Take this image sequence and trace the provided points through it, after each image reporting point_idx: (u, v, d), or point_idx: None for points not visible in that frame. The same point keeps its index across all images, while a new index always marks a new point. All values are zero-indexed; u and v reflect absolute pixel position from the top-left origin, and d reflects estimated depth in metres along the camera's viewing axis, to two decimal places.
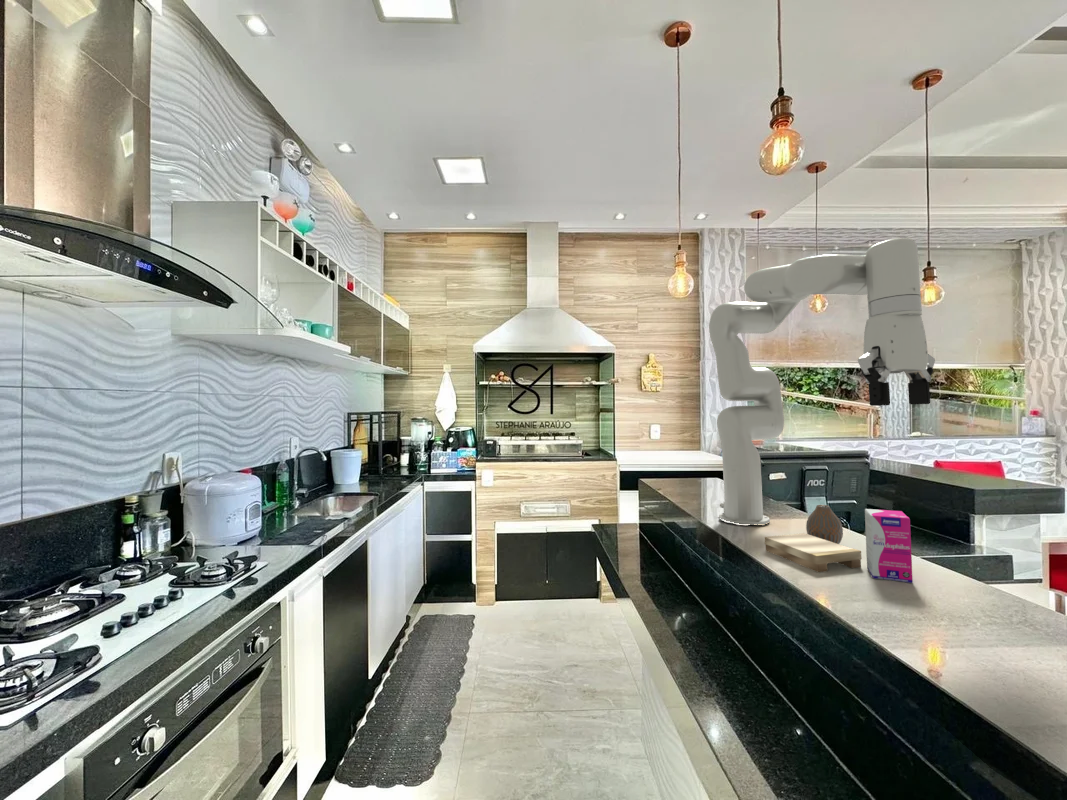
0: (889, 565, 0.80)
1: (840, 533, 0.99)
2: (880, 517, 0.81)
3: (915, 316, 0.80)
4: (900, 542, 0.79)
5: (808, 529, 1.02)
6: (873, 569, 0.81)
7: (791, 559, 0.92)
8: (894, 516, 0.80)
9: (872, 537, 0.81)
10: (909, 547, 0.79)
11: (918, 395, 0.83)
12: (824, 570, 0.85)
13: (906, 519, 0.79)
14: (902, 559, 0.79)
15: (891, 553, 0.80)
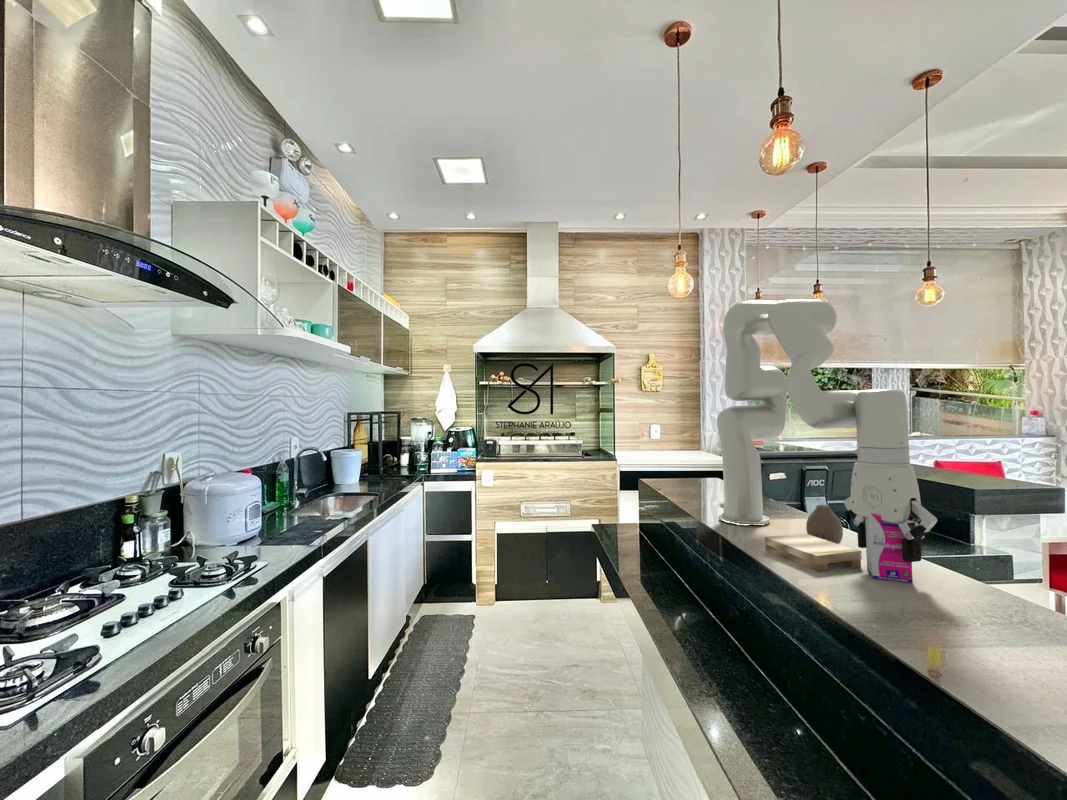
0: (889, 565, 0.80)
1: (840, 533, 0.99)
2: (880, 517, 0.81)
3: None
4: (900, 542, 0.79)
5: (808, 529, 1.02)
6: (873, 569, 0.81)
7: (791, 559, 0.92)
8: None
9: (872, 537, 0.81)
10: None
11: None
12: (824, 570, 0.85)
13: None
14: (902, 559, 0.79)
15: (891, 553, 0.80)
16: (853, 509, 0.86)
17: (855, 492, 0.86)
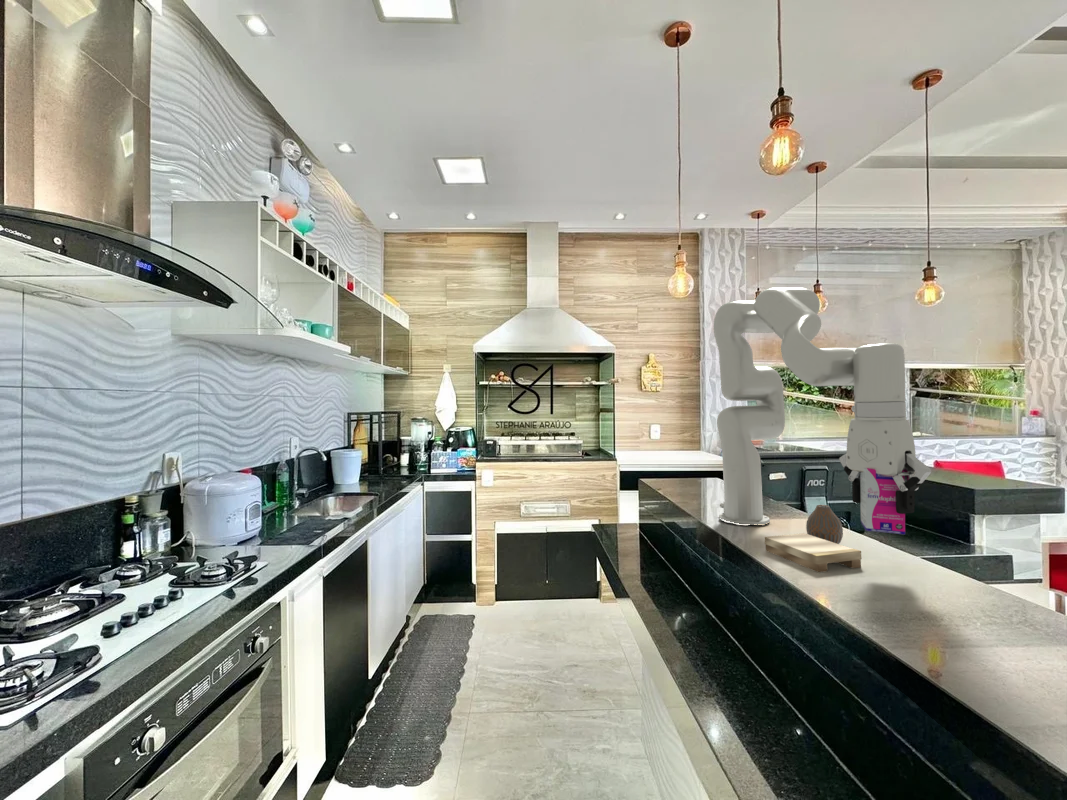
0: (882, 517, 0.81)
1: (840, 533, 0.99)
2: (875, 470, 0.81)
3: None
4: (894, 495, 0.80)
5: (808, 529, 1.02)
6: (867, 522, 0.82)
7: (791, 559, 0.92)
8: None
9: (866, 490, 0.82)
10: None
11: None
12: (824, 570, 0.85)
13: None
14: (895, 511, 0.80)
15: (884, 506, 0.81)
16: (848, 464, 0.87)
17: (851, 447, 0.86)
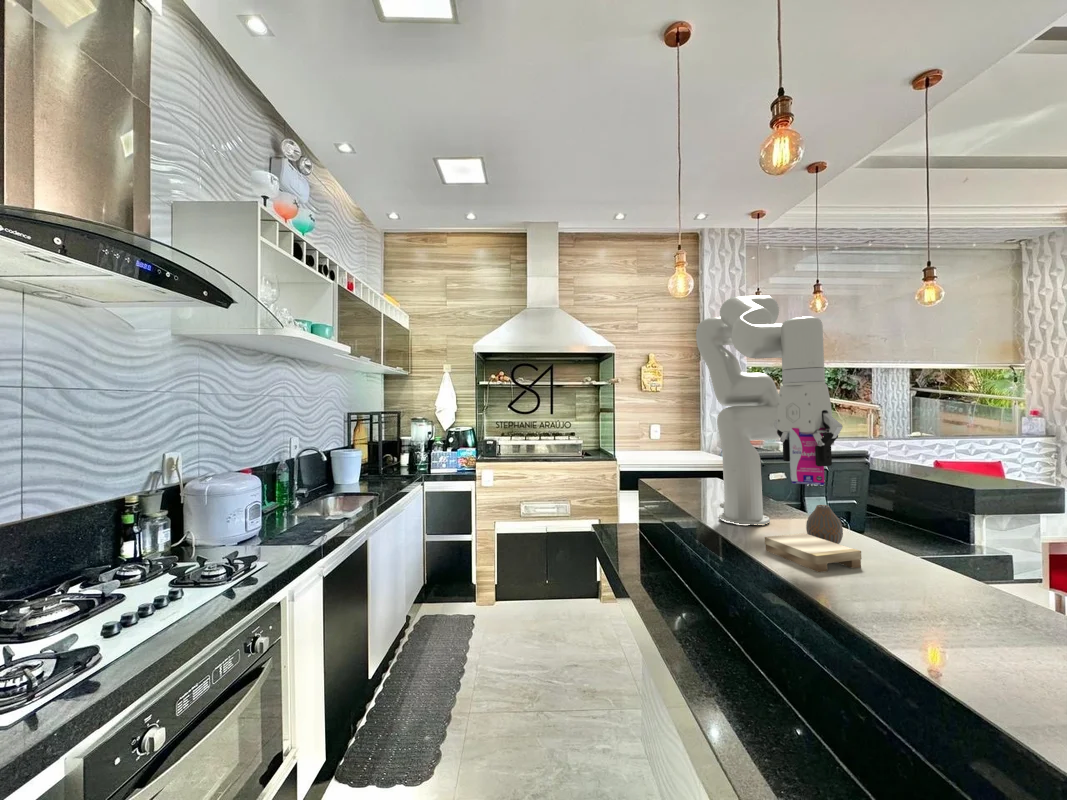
0: (805, 471, 0.91)
1: (840, 533, 0.99)
2: (798, 429, 0.92)
3: None
4: (814, 450, 0.91)
5: (808, 529, 1.02)
6: (792, 475, 0.92)
7: (791, 559, 0.92)
8: None
9: (791, 447, 0.92)
10: None
11: None
12: (824, 570, 0.85)
13: (819, 429, 0.90)
14: (816, 465, 0.90)
15: (806, 460, 0.91)
16: (779, 427, 0.97)
17: (781, 411, 0.97)
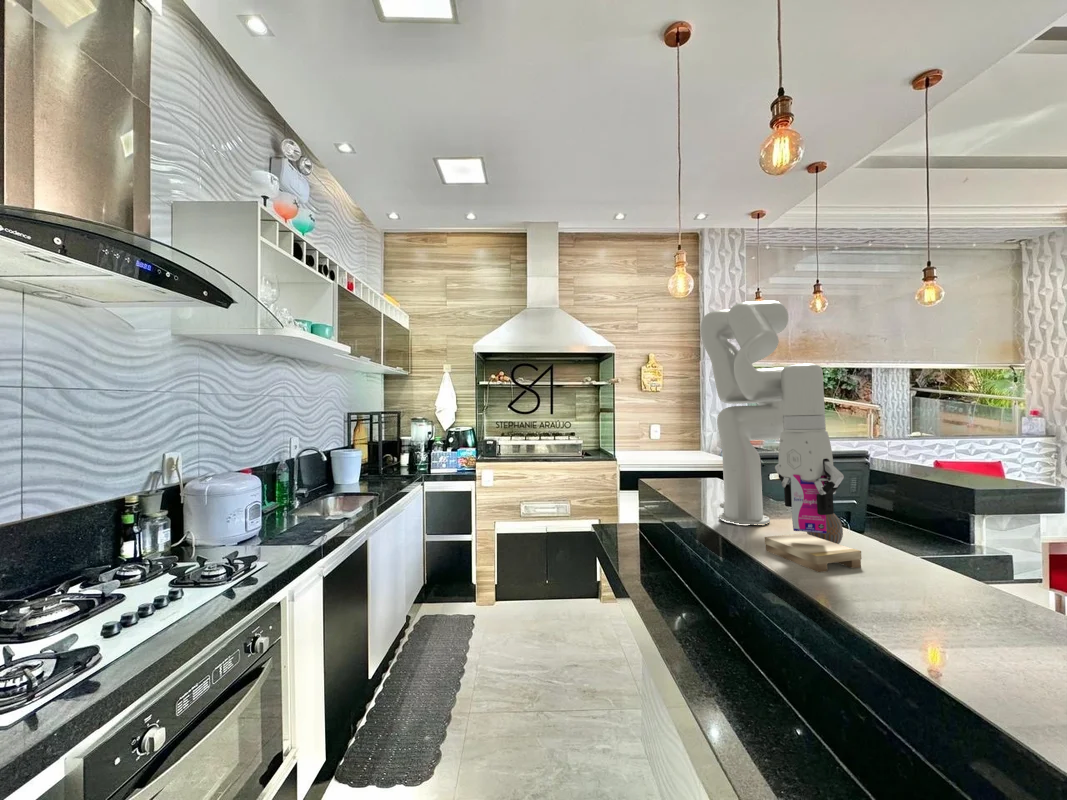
0: (807, 518, 0.91)
1: (840, 533, 0.99)
2: (799, 476, 0.92)
3: None
4: (816, 498, 0.90)
5: None
6: (794, 523, 0.92)
7: (791, 559, 0.92)
8: None
9: (793, 494, 0.92)
10: None
11: None
12: (824, 570, 0.85)
13: (821, 477, 0.90)
14: (817, 513, 0.90)
15: (808, 508, 0.91)
16: (780, 472, 0.97)
17: (782, 456, 0.96)
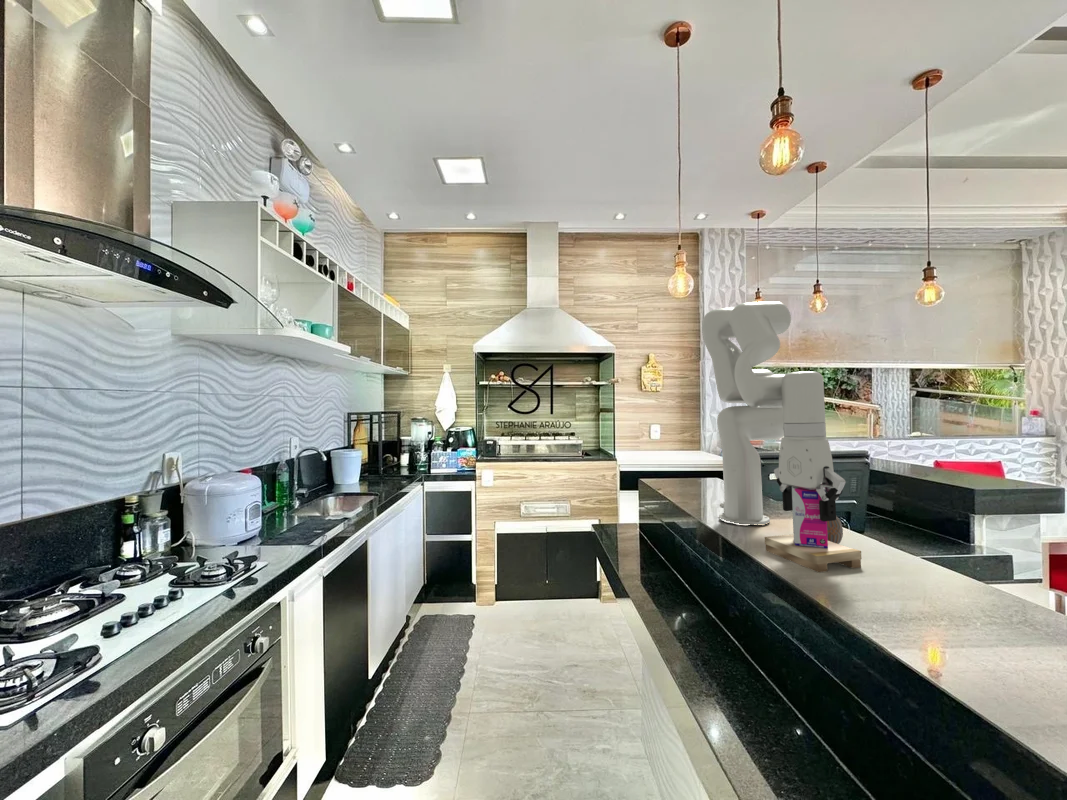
0: (808, 533, 0.91)
1: (840, 533, 0.99)
2: (801, 491, 0.91)
3: None
4: (817, 513, 0.90)
5: None
6: (795, 537, 0.92)
7: (791, 559, 0.92)
8: (813, 490, 0.91)
9: (794, 509, 0.92)
10: None
11: None
12: (824, 570, 0.85)
13: None
14: (819, 528, 0.90)
15: (810, 523, 0.91)
16: (780, 479, 0.97)
17: (782, 463, 0.96)
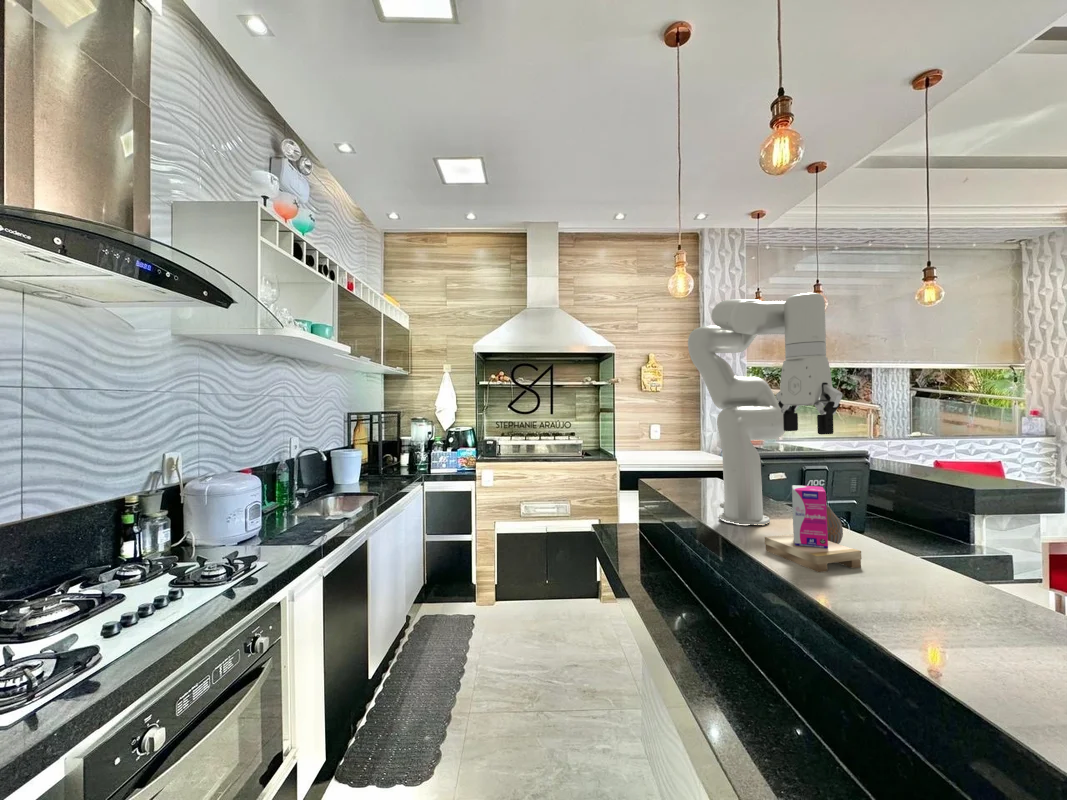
0: (808, 533, 0.91)
1: (840, 533, 0.99)
2: (801, 491, 0.91)
3: None
4: (817, 513, 0.90)
5: None
6: (795, 537, 0.92)
7: (791, 559, 0.92)
8: (813, 490, 0.91)
9: (794, 509, 0.92)
10: (825, 517, 0.89)
11: (792, 423, 1.02)
12: (824, 570, 0.85)
13: (822, 492, 0.90)
14: (819, 528, 0.90)
15: (810, 523, 0.91)
16: (781, 400, 1.01)
17: (783, 385, 1.00)
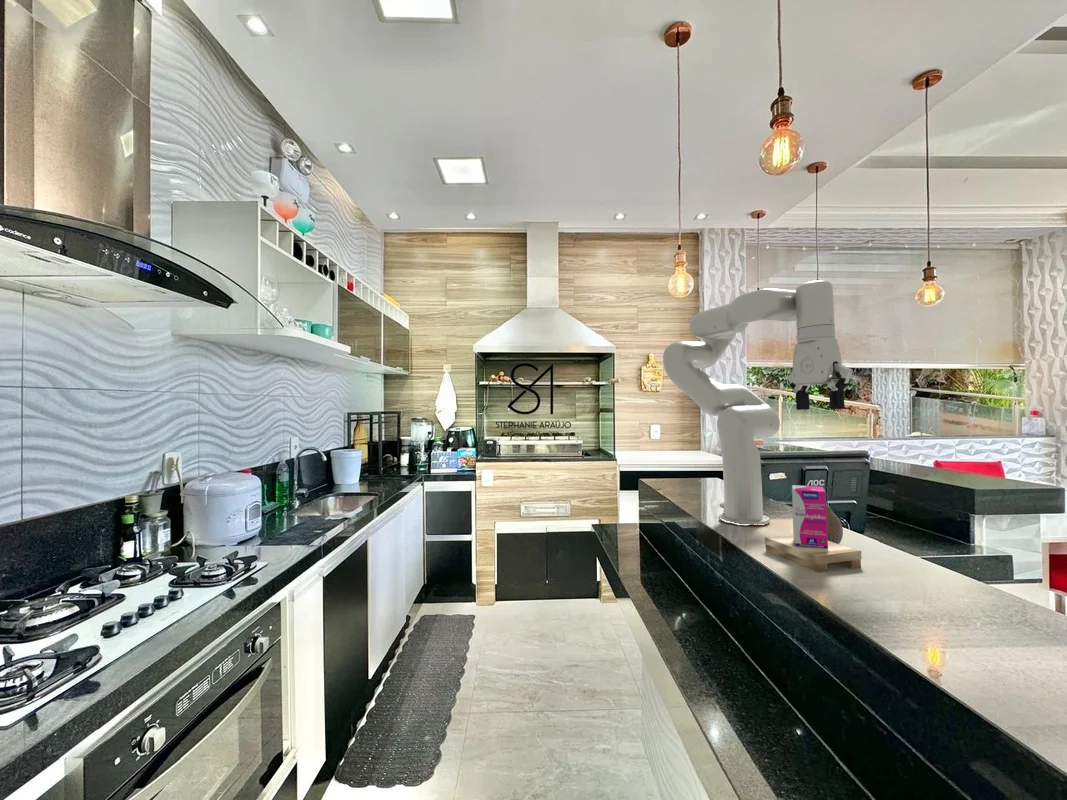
0: (808, 533, 0.91)
1: (840, 533, 0.99)
2: (801, 491, 0.91)
3: None
4: (817, 513, 0.90)
5: None
6: (795, 537, 0.92)
7: (791, 559, 0.92)
8: (813, 490, 0.91)
9: (794, 509, 0.92)
10: (825, 517, 0.89)
11: (804, 403, 1.10)
12: (824, 570, 0.85)
13: (822, 492, 0.90)
14: (819, 528, 0.90)
15: (810, 523, 0.91)
16: (794, 380, 1.09)
17: (795, 366, 1.08)
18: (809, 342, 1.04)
